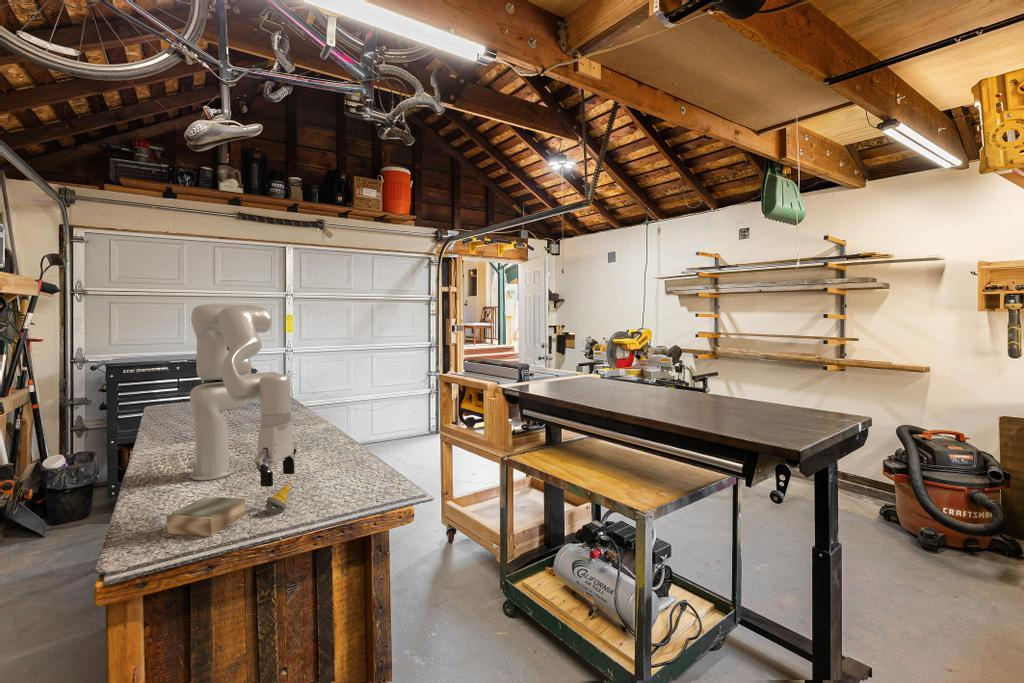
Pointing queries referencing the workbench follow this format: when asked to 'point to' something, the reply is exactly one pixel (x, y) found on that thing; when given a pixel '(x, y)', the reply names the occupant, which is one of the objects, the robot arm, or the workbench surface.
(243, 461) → the workbench surface
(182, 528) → the base block
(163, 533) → the workbench surface
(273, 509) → the drill bit
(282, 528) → the workbench surface
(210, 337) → the robot arm
